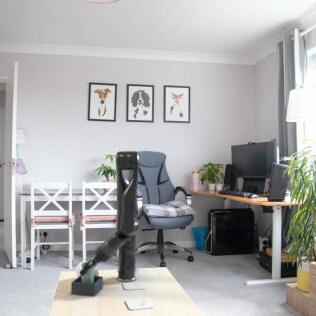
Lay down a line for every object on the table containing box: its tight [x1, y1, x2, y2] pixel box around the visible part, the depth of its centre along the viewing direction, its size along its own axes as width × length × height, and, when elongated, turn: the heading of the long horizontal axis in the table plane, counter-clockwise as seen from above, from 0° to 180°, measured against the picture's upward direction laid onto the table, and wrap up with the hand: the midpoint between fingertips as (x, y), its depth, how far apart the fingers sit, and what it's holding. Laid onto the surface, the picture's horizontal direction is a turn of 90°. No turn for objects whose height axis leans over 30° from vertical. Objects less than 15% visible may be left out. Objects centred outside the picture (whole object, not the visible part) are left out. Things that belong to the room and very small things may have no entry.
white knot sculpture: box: [75, 261, 100, 278], centre depth 186 cm, size 11×12×9 cm
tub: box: [70, 275, 104, 297], centre depth 169 cm, size 12×12×6 cm
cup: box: [81, 261, 94, 283], centre depth 169 cm, size 6×6×9 cm
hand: (84, 272), depth 170 cm, fingers closed on cup, 6 cm apart
